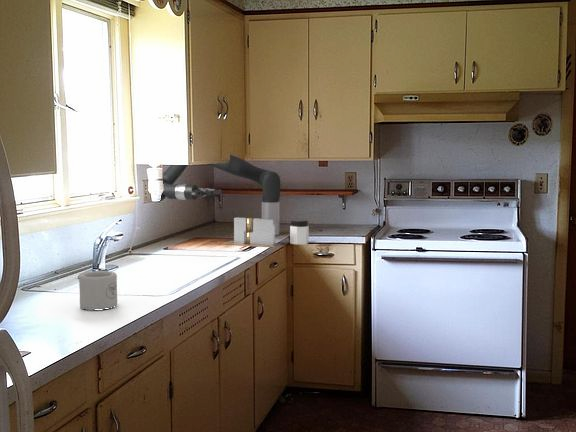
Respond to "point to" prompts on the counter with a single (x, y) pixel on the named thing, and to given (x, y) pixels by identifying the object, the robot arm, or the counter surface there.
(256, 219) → the fixed leaf
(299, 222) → the jar
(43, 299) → the counter surface
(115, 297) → the mug
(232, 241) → the jig board
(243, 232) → the brushed metal block
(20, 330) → the counter surface
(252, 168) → the robot arm
